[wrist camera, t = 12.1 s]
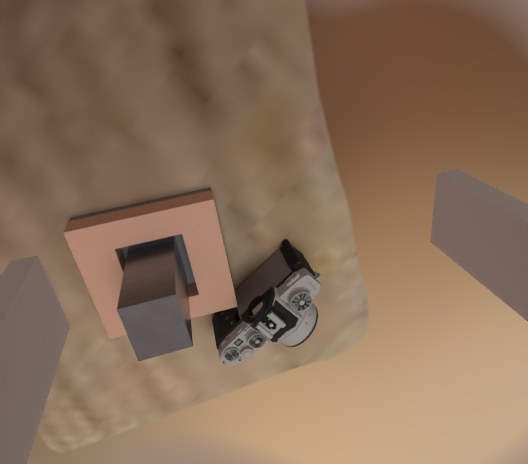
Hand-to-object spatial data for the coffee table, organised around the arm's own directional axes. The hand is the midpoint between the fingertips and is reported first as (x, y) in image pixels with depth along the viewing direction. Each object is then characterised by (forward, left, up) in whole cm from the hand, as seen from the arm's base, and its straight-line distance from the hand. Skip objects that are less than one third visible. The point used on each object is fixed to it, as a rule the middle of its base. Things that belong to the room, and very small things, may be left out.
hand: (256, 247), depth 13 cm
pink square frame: (+16, -8, -30) cm, 35 cm away
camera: (+24, +3, -31) cm, 39 cm away
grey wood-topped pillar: (+16, -8, -30) cm, 35 cm away
